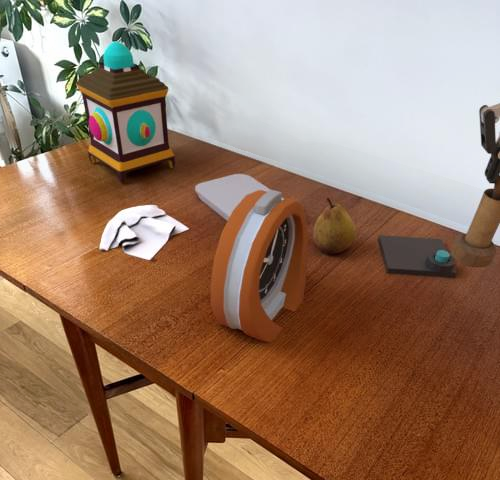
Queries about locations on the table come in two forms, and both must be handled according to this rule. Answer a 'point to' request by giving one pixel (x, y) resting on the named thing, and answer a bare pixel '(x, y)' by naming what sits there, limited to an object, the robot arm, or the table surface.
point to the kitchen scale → (414, 256)
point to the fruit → (333, 230)
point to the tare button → (442, 256)
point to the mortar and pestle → (480, 232)
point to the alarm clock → (260, 264)
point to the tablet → (227, 192)
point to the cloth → (140, 231)
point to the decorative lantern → (125, 114)
